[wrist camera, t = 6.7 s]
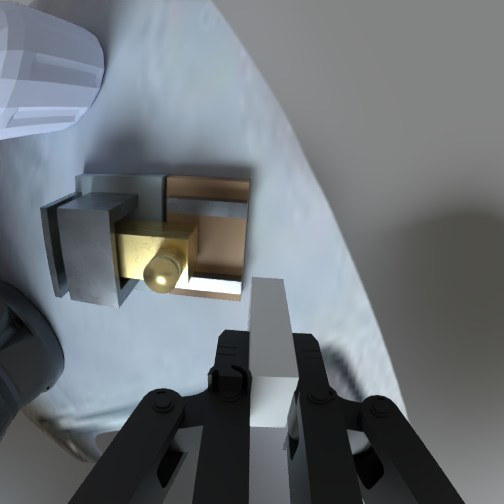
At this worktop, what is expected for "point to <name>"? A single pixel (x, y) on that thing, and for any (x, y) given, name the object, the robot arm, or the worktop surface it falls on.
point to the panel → (185, 217)
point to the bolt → (156, 252)
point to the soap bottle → (44, 71)
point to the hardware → (104, 247)
